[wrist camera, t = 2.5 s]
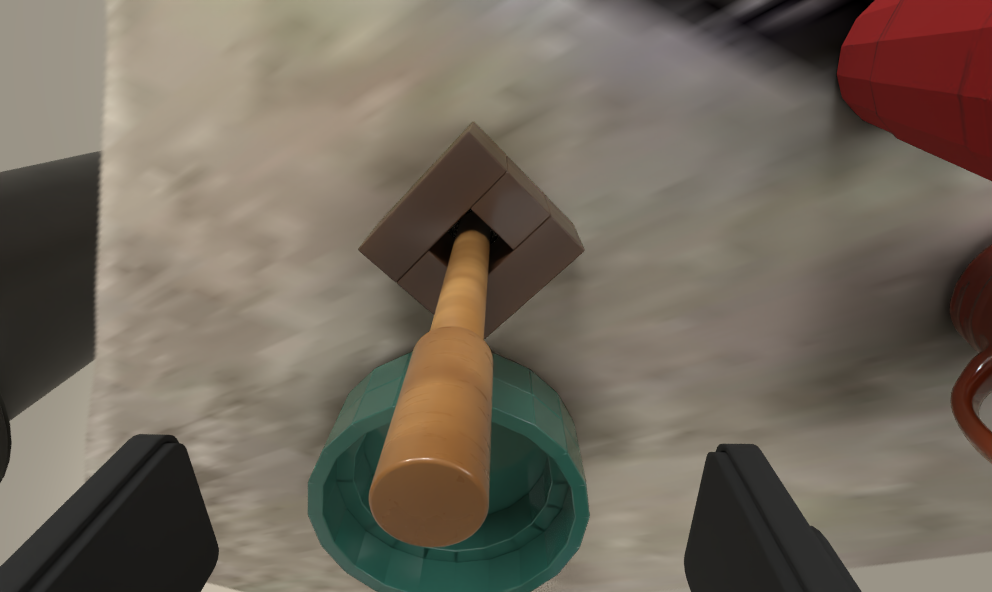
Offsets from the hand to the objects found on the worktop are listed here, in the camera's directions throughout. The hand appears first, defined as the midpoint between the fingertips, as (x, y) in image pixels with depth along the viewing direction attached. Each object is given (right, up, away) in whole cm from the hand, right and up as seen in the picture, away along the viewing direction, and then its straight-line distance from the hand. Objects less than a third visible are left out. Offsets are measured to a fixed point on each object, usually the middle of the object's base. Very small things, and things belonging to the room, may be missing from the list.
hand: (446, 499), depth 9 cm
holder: (0, +7, +16) cm, 18 cm away
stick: (0, +7, +16) cm, 18 cm away
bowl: (-2, -6, +22) cm, 23 cm away
